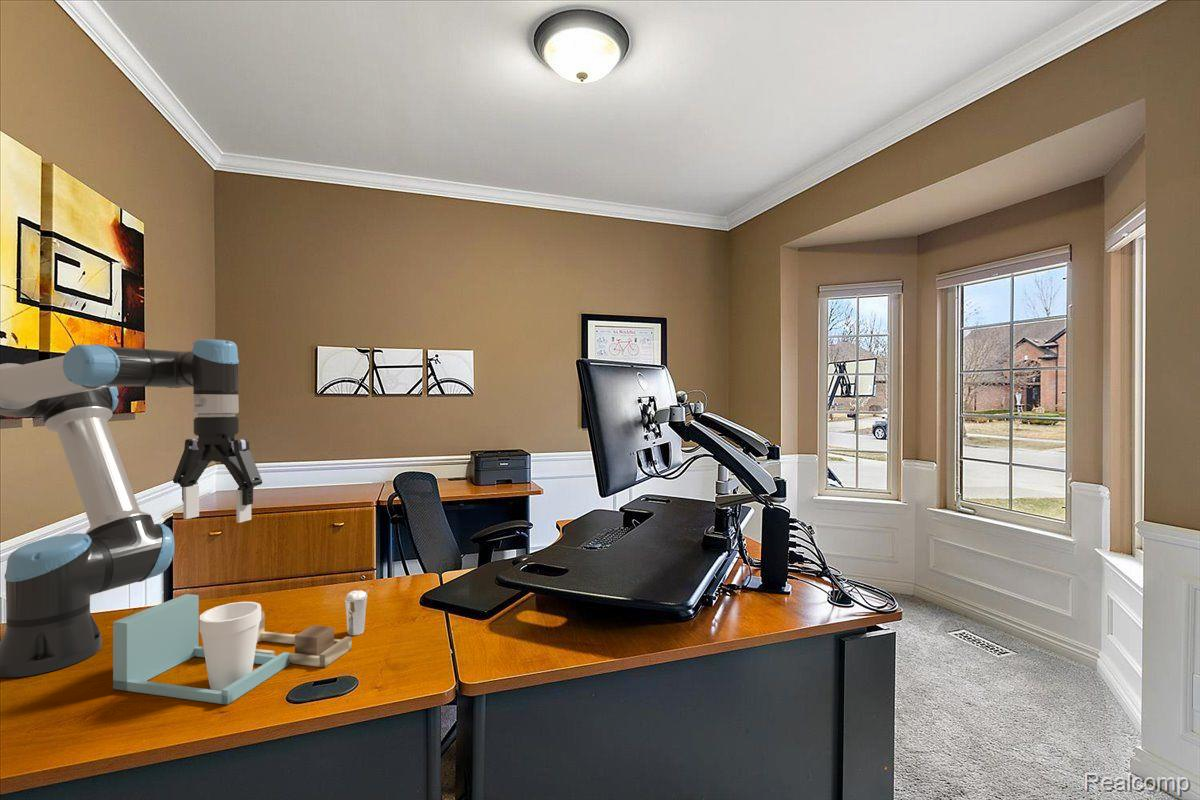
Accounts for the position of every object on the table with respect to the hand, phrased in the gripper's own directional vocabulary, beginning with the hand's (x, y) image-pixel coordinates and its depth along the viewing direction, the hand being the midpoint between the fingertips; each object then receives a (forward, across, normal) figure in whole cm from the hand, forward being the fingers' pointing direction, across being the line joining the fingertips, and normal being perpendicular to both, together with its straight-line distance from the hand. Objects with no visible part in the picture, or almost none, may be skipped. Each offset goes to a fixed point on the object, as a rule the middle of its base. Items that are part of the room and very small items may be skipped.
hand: (217, 519), depth 110 cm
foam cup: (+28, +13, -8) cm, 31 cm away
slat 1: (+27, +7, +3) cm, 28 cm away
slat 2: (+28, +20, +4) cm, 34 cm away
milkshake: (+28, +21, +15) cm, 38 cm away
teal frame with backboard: (+27, +7, -8) cm, 29 cm away
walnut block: (+28, +20, +4) cm, 34 cm away
